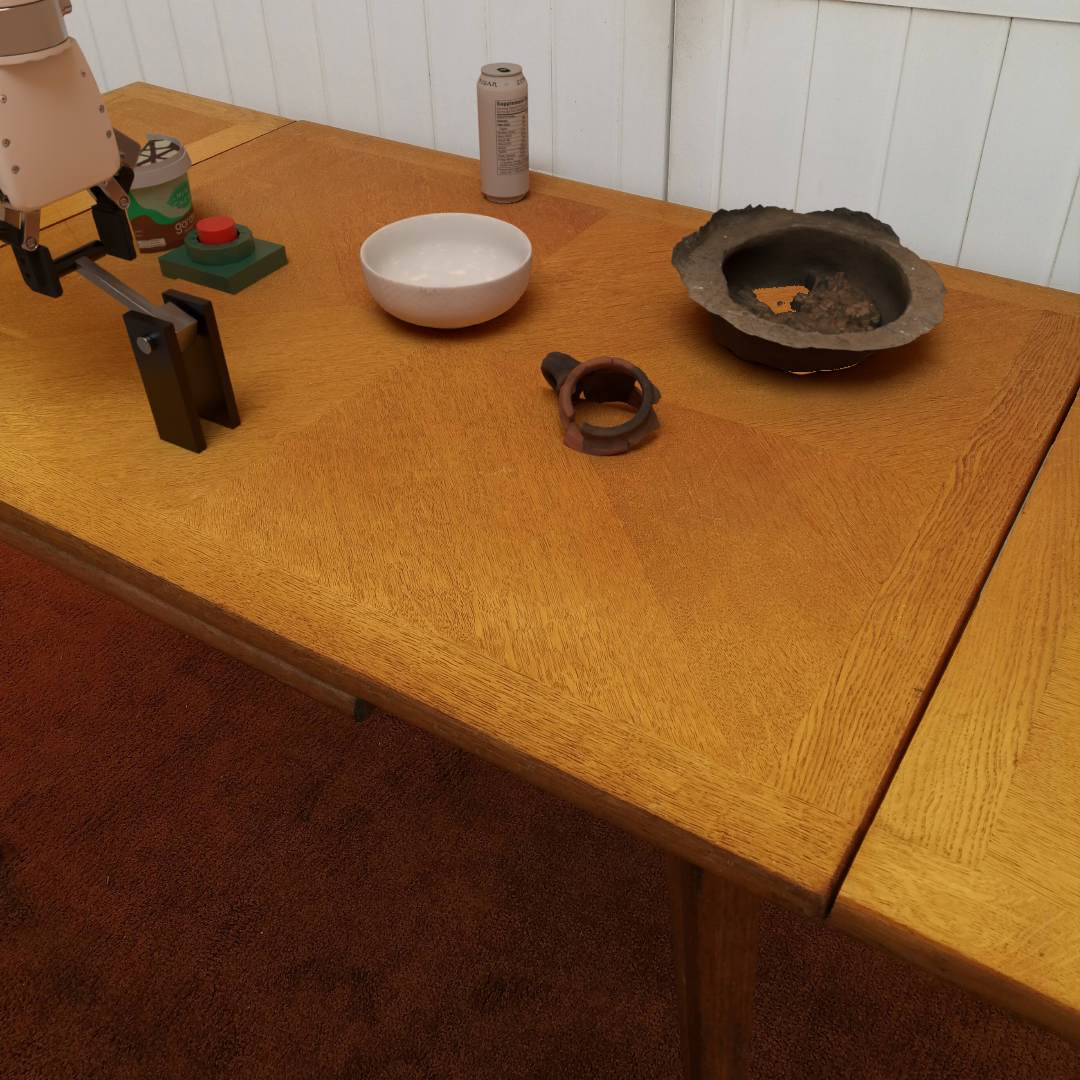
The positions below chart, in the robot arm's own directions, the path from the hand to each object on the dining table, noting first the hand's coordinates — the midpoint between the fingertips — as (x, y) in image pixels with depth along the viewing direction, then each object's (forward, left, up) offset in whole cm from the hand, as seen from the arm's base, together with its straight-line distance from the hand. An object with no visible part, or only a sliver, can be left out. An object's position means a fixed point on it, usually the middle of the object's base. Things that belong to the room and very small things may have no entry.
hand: (84, 272), depth 79 cm
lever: (+4, 0, -2) cm, 4 cm away
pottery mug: (+37, +18, -14) cm, 43 cm away
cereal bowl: (+14, +30, -14) cm, 36 cm away
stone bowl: (+47, +42, -14) cm, 64 cm away
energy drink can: (+3, +59, -14) cm, 61 cm away
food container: (-24, +30, -14) cm, 41 cm away
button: (-13, +26, -10) cm, 31 cm away
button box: (-13, +26, -14) cm, 32 cm away
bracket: (+9, 0, -14) cm, 16 cm away
